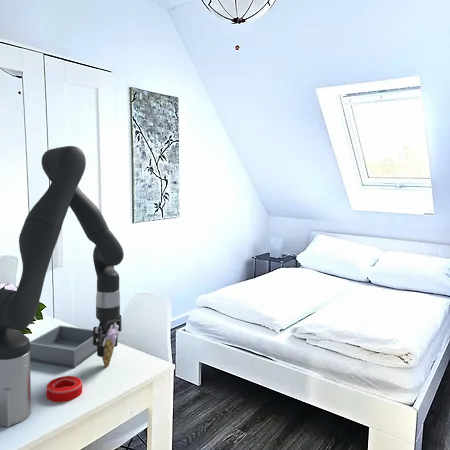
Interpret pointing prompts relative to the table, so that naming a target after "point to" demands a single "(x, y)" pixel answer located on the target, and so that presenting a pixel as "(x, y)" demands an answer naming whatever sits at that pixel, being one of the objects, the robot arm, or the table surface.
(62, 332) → the bin
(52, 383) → the decorative ornament
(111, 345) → the ice cream cone
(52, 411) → the table surface
